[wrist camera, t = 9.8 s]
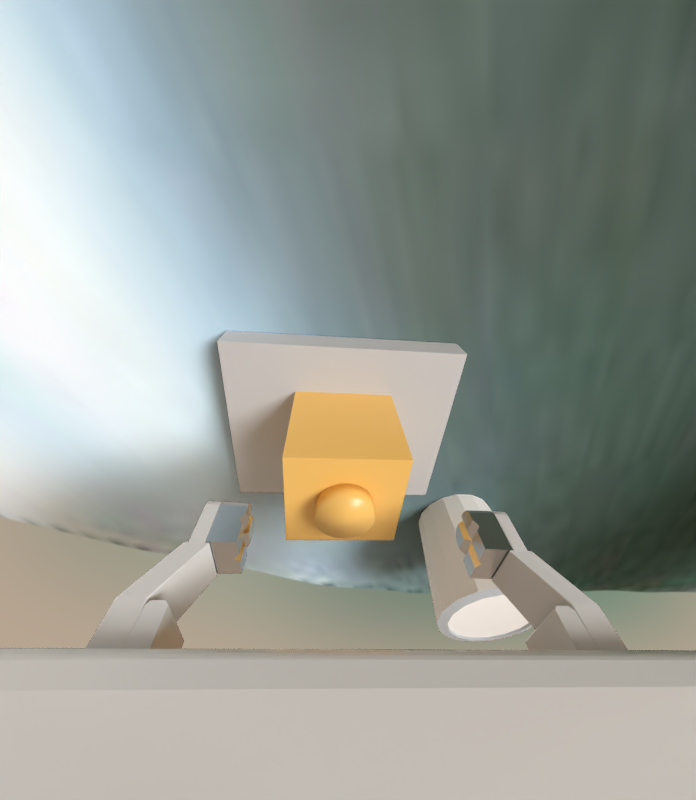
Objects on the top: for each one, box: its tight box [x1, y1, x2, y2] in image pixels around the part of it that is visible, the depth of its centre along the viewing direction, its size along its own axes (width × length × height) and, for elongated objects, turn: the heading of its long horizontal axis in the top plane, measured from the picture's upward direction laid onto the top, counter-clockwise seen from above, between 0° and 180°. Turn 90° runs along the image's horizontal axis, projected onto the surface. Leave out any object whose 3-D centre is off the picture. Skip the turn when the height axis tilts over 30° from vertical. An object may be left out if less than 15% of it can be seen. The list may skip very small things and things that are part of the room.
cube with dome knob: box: [282, 391, 413, 540], centre depth 15 cm, size 5×5×6 cm
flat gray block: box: [217, 331, 467, 495], centre depth 16 cm, size 12×10×5 cm
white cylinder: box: [418, 494, 532, 642], centre depth 21 cm, size 7×7×7 cm
